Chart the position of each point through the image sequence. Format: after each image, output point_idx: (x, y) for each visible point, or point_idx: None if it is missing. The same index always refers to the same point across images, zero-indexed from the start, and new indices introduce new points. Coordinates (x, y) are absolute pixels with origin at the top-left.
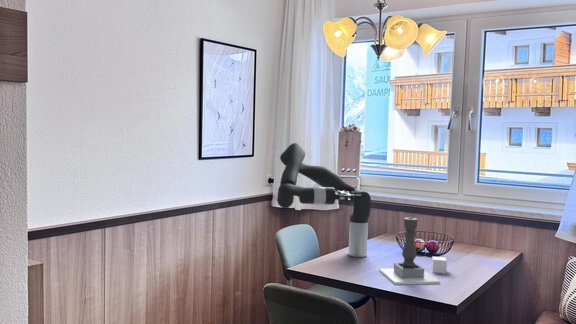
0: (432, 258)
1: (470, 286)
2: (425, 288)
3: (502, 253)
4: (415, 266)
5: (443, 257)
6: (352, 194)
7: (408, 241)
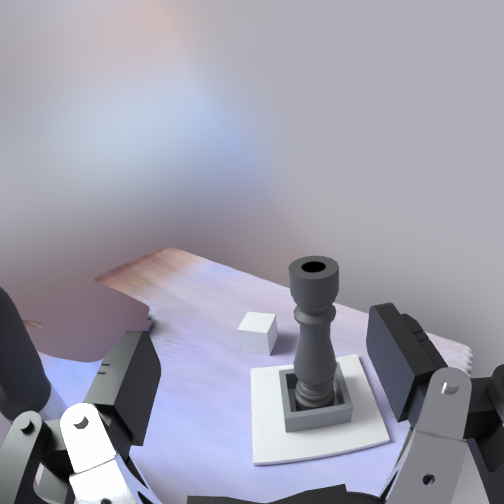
0: (242, 332)
1: (360, 319)
2: None
3: (171, 258)
4: (296, 376)
5: (247, 314)
6: (461, 379)
7: (328, 338)
